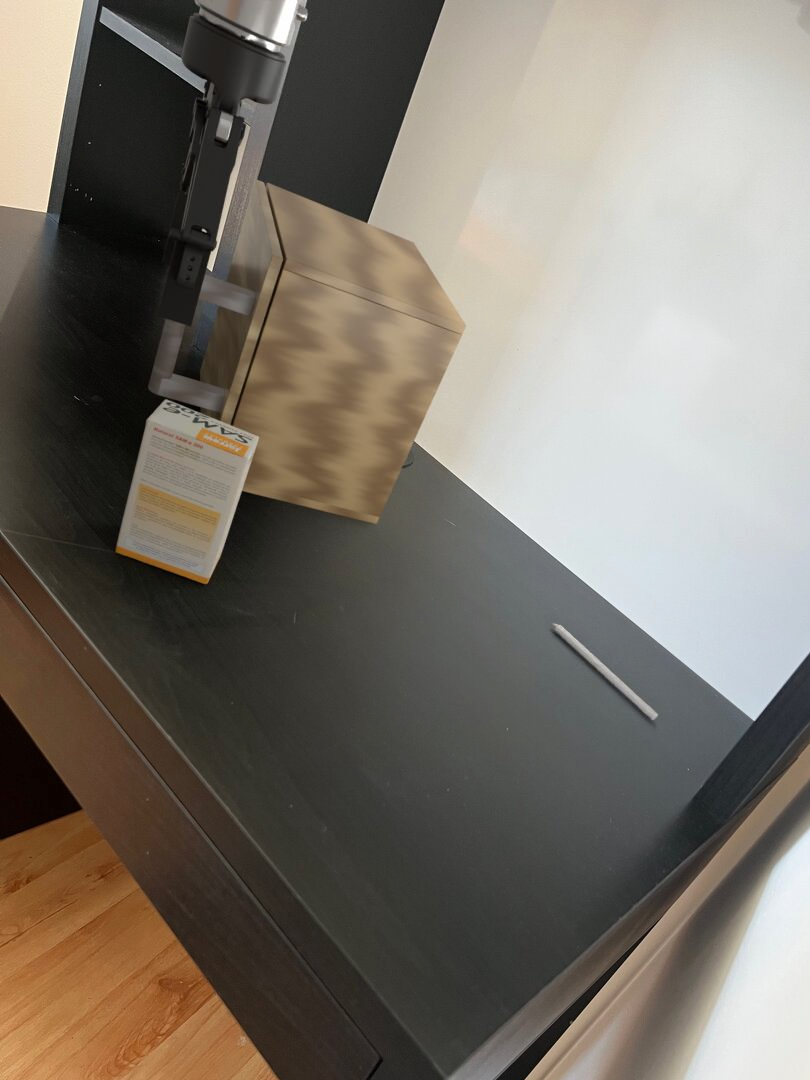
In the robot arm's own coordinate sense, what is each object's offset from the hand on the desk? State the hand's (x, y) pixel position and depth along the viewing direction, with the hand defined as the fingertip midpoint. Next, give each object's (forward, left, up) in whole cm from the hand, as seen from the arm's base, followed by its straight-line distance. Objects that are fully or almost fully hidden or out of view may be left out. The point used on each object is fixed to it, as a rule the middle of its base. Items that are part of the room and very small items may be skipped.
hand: (175, 292), depth 76 cm
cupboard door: (-2, +11, -17) cm, 20 cm away
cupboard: (+9, +18, -17) cm, 26 cm away
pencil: (+52, +6, -17) cm, 55 cm away
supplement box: (+11, -12, -17) cm, 24 cm away
